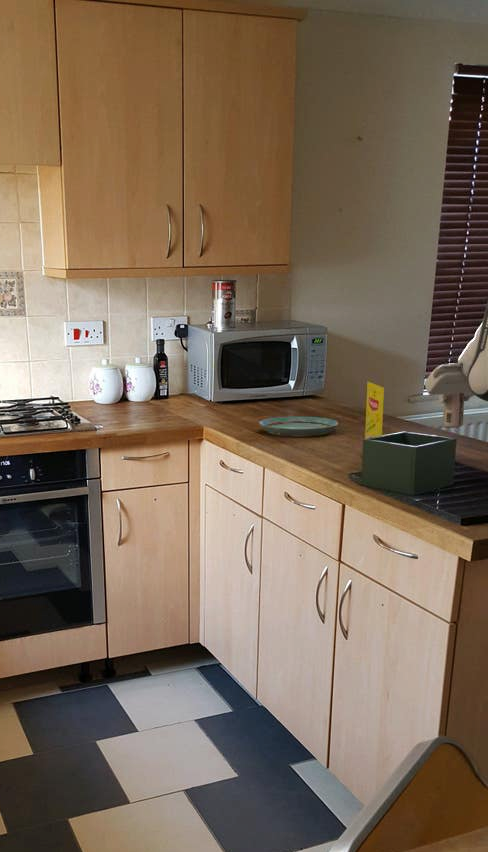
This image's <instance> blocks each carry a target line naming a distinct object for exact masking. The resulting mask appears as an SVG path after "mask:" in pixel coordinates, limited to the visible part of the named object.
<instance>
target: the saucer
mask: <svg viewBox="0 0 488 852" xmlns="http://www.w3.org/2000/svg"><path fill="white" fill-rule="evenodd" d="M290 421H291V422H292V421H301V422H302V421H303V422H316V423H317V422H318V423H323V424H327V425H330V426H327V425H322V424H311V423H290V424H278V425H272V426H266V425H268V424H272V423H277V422H290ZM338 423H339V422H338V421H336V420H334V419H330V418H325V417H315V416H281V417H271V418H266V419H262V420H260V421H259V425H260V427H261V428H262V430H263V429H264V430H263V431H264V432H266V433H267V434H268V435H272V436H277V437H283V438H284V437H285V438H310V437H319V436H320V437H321V436H325V435H328V434H330V433H331V432H333V431H334V430H335V429H336V427H337V426H338ZM267 431H268V432H267ZM271 432H273V433H271ZM278 433H280V434H278Z"/></svg>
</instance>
